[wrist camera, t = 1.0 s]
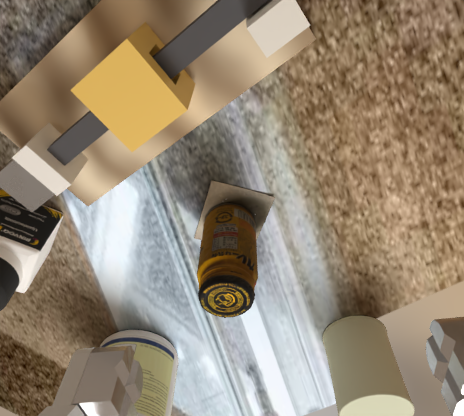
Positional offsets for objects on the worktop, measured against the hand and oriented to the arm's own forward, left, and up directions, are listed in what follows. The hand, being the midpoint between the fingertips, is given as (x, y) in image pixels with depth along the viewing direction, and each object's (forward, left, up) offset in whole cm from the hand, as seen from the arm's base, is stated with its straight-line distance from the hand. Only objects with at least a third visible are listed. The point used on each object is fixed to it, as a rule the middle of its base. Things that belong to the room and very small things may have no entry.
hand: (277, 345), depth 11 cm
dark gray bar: (+8, -5, -26) cm, 28 cm away
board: (+9, -5, -30) cm, 32 cm away
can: (+11, +41, -30) cm, 52 cm away
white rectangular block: (+19, -5, -28) cm, 34 cm away
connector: (+22, -5, -29) cm, 36 cm away
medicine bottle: (+32, -1, -30) cm, 44 cm away
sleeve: (+8, -5, -28) cm, 30 cm away
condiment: (+12, +13, -30) cm, 35 cm away
